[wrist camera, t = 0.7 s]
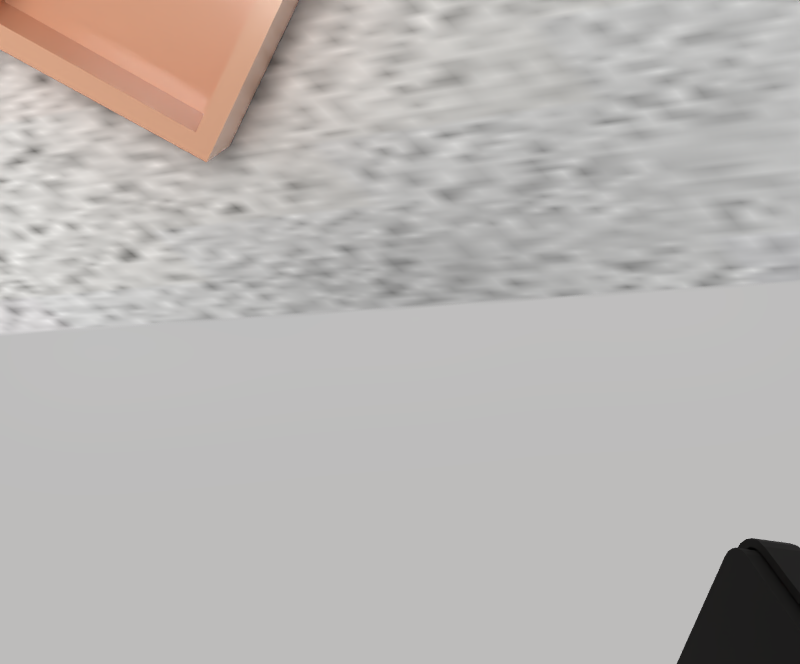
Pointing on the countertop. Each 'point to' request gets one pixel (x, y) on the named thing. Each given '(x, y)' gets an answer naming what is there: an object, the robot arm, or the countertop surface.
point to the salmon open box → (154, 58)
